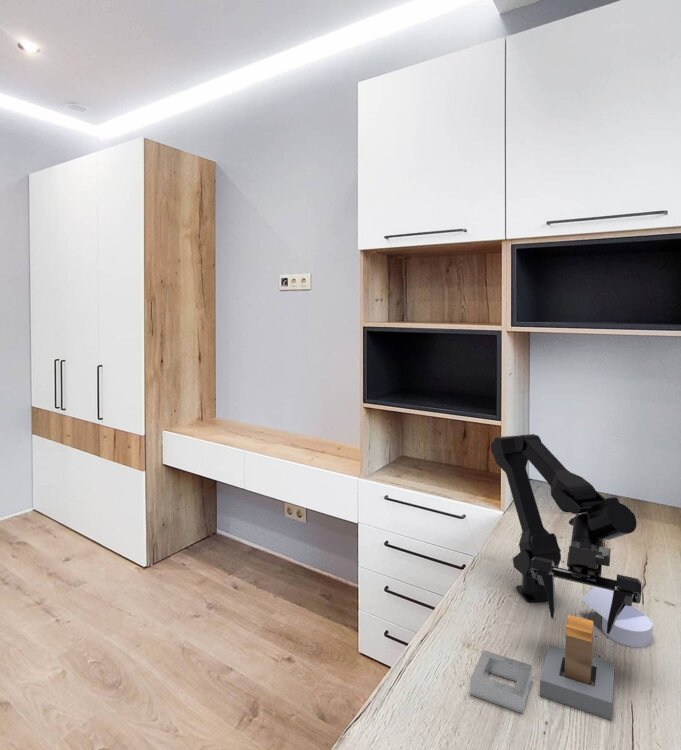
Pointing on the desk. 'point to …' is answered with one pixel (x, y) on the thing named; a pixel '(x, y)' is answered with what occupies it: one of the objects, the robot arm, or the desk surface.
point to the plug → (578, 649)
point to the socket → (578, 684)
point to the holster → (499, 691)
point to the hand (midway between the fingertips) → (579, 625)
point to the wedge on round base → (621, 619)
